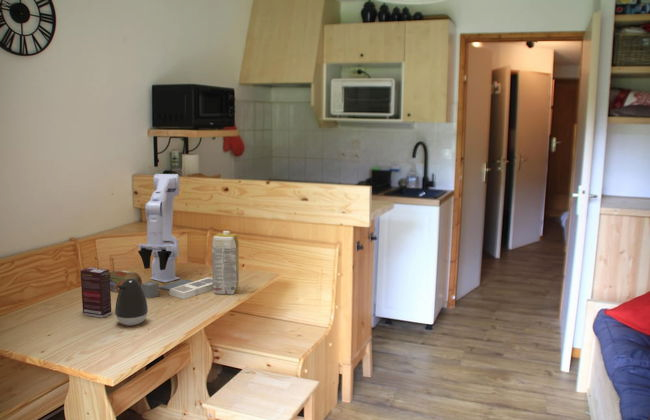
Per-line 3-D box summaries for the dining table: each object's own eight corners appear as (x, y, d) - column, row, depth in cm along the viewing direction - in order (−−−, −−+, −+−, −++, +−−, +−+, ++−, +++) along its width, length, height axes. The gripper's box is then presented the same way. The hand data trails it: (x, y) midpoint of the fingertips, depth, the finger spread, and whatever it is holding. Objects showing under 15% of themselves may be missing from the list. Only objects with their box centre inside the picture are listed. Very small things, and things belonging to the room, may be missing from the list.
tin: (106, 290, 221) (106, 269, 220) (112, 288, 224) (111, 267, 223) (138, 296, 216) (137, 274, 214) (143, 293, 219) (143, 272, 217)
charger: (141, 296, 216) (141, 283, 215) (151, 293, 219) (150, 280, 219) (149, 298, 213) (148, 285, 212) (158, 295, 217) (158, 282, 216)
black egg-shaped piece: (108, 325, 186) (106, 280, 184) (132, 315, 195) (131, 272, 193) (131, 331, 182) (129, 285, 179) (154, 321, 191) (153, 277, 188)
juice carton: (240, 289, 226) (239, 230, 222) (234, 295, 219) (234, 234, 215) (217, 288, 227) (216, 229, 223) (211, 294, 220) (210, 233, 216)
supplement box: (112, 313, 197) (110, 269, 194) (102, 318, 192) (100, 272, 189) (91, 310, 199) (89, 266, 197) (81, 314, 195) (79, 269, 192)
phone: (158, 289, 225) (158, 287, 225) (183, 281, 237) (183, 278, 237) (171, 292, 222) (171, 290, 222) (195, 284, 234) (195, 281, 234)
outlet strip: (169, 295, 218) (169, 287, 217) (214, 280, 237) (214, 273, 237) (183, 299, 213) (183, 291, 213) (228, 284, 233) (228, 277, 232)
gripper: (132, 232, 214) (132, 269, 214) (162, 234, 208) (162, 271, 208) (146, 232, 220) (145, 267, 220) (175, 233, 214) (175, 269, 214)
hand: (154, 269), depth 214 cm, fingers open, 7 cm apart
